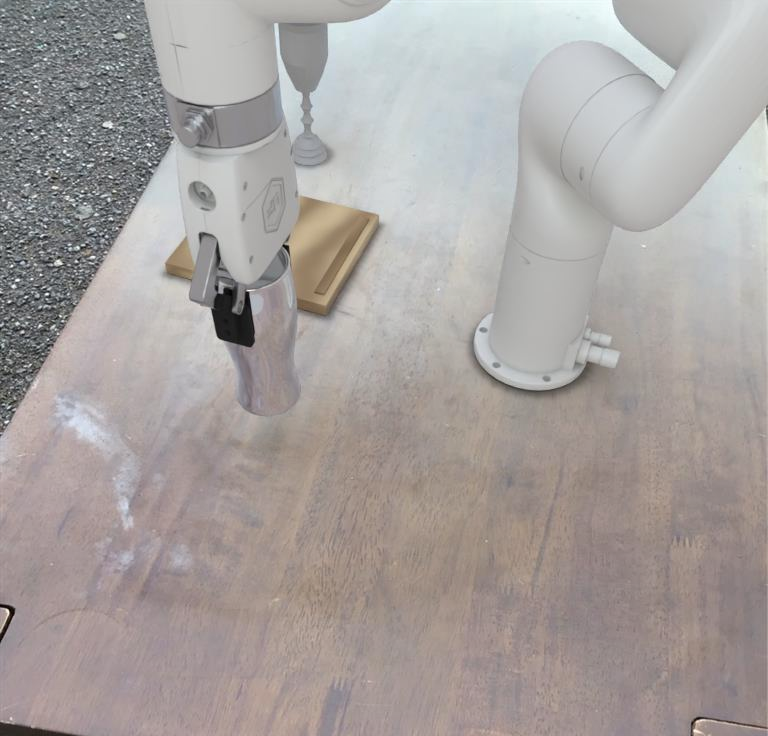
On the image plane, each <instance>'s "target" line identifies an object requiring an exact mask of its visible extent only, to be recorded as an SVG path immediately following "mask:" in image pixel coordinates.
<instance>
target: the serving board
mask: <svg viewBox="0 0 768 736" xmlns="http://www.w3.org/2000/svg"><path fill="white" fill-rule="evenodd" d="M298 195H299V194H298ZM299 206H300V212H299V217H298V219H297V222H296V224H295V226H294V227H293V229H292V231H291V234H290V239H289V241H288V243H284V244H285V245H289V249H290V259H291V269H292V274H293V279H294V284H295V290H296V297H297V309H300V310H302V311H306V312H307V311H308V312H309V313H310V312H311V313H314V314H319V315H322V316H326V317H327V315H328V313H329V311H331V308H332V306H333V305H334V304H335V301H336V300H337V298H338V297H339V294H340V292H341V291H342V290H343V287H344V286H345V284H346V283H347V281H348V279H349V277H350V276H351V274H352V272H353V270H354V268H355V267H356V265H357V264H358V262H359V260H360V258H361V256H362V255H363V254H364V251H365V250H366V248H367V246H368V245H369V243H370V241H371V239H372V238H373V236H374V234H375V233H376V230H377V229H378V227H379V226H380V214H378V213H374V212H370V211H365V210H361V209H357V208H353V207H349V206H345V205H341V204H336V203H332V202H329V201H324V200H320V199H317V198H312V197H308V196H304V195H299ZM164 264H165V269H166V274H168V275H172V276H176V277H179V278H183V279H188V280H191V281H192V278H193V274H194V269H195V265H194V262H193V260H192V256H191V253H190V249H189V245H188V241H187V236H186V235H185V237H184V238H183V239H182V241H181V242H180V243H179V245H178V246H177V247H176V249H174V250H173V252H172V253H171V255H170V256H169V257H168V258H167V260H166V261H165V262H164Z"/></svg>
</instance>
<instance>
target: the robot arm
mask: <svg viewBox="0 0 768 736" xmlns="http://www.w3.org/2000/svg"><path fill="white" fill-rule="evenodd" d="M391 1H392V0H143V4H144V8H145V9H144V10H145V13H146V18H147V23H148V28H149V32H150V37H151V41H152V46H153V50H154V55H155V60H156V64H157V70H158V74H159V78H160V84H161V89H162V94H163V98H164V103H165V108H166V111H167V116H168V117H167V118H168V121H169V126H170V130H171V134H172V136H173V138H174V139H175V141H176V142H177V143H176V145H175V152H176V169H177V181H178V190H179V198H180V205H181V214H182V218H183V226H184V231H185V237H186V236H187V241H188V245H189V249H190V253H191V256H192V260H193V262H194V265H195V269H194V274H193V278H192V280H191V282H190V287H189V291H188V298H189V299H188V300H189V301H190V302H193V303H195V304H197V305H200V307H205V308H208V309H210V311H211V316H212V321H213V326H214V330H215V335H216V337H217V338H218V340H220V341H223V342H224V341H227V342H231V343H234V344H238V345H242V346H246V347H252V346H253V344H254V343H255V337H254V331H253V324H252V318H251V312H250V306H248V305H245V304H244V300H245V288H246V285H250V284H252V283H254V282H255V281H257V280H258V279H259V278H260V277H261V276H262V274H263V273H264V272H265V270H266V269H267V267H268V266H269V264H270V263H271V261H272V260H273V258H274V257H275V255H276V254H277V252H278V251H279V249H280V248H281V246H282V247H283V248H284V249H285V250H286V251H287V253H288V255H289V257H290V249H289V245H285V244H284V243H288V241H289V239H290V234H291V231H292V229H293V227H294V226H295V224H296V222H297V219H298V217H299V212H300V206H299V188H298V180H297V171H296V165H295V162H294V158H293V152H292V147H293V145H292V140H291V136H290V135H291V134H290V131H289V125H288V122H287V119H286V115H285V111H284V108H283V104H282V103H283V102H282V93H281V82H280V81H281V80H280V72H279V61H278V51H277V50H278V49H277V40H276V29H275V24H278V23H328V24H341V23H350V22H354V21H358V20H362V19H366V18H367V17H370V16H372V15H374V14H376V13H377V12H379V11H381V10H382V9H383V8H385V7H386V6H387V5H388V4H389V3H390V2H391ZM611 3H612V9H613V12H614V16H615V17H616V19H617V21H618V22H619V24H620V25H621V26H622V27H623V28H624V30H625V31H626V32H627V33H629V34H630V35H631V36H632V38H634V39H635V40H636V41H637V42H638V43H639V44H640V45H642V46H643V47H644V48H645V49H647V50H648V51H650V52H651V53H652V54H653V55H654V56H656V57H657V58H658V59H660V60H661V61H662V62H663V63H665V64H666V65H668V66H669V68H671V69H673V70H674V71H675V73H674V74H673V76H672V78H671V79H670V81H669V83H668V85H667V86H666V87H665V88H663V87H662V86H661V85H660V84H658V83H657V81H655V79H653V78H652V77H651V76H650V75H649V74H647V73H646V72H645V71H643V70H642V69H641V68H639V67H638V66H637V65H636V64H635V63H633V62H632V61H630V60H629V58H628V57H626V56H625V55H623V54H622V53H620V52H618V51H617V50H615V49H614V48H612V47H609V46H608V45H606V44H603V43H601V42H597V41H592V40H583V39H582V40H581V39H580V40H575V41H569V42H566V43H563V44H561V45H559V46H557V47H555V48H554V49H552V50H551V51H549V52H548V53H546V55H545V56H544V57H543V58H542V59H541V60H540V61H539V62H538V64H537V65H535V68H534V69H533V70H532V72H531V73H530V76H529V78H528V80H527V81H526V84H525V86H524V90H523V92H522V96H521V100H520V106H519V110H518V120H517V121H518V122H517V157H518V158H517V159H518V160H517V176H516V177H517V178H516V187H515V193H514V194H515V195H514V199H513V204H512V205H513V206H512V209H511V210H512V211H511V216H510V222H509V226H508V230H507V231H508V232H507V237H506V243H505V248H504V253H503V258H502V262H501V263H502V265H501V269H500V273H499V280H498V285H497V290H496V296H495V300H494V307H493V310H492V312H490V313H488V314H487V315H486V316H484V318H482V319H481V321H480V322H479V323H478V325H477V326H476V329H475V332H474V337H473V342H472V344H473V353H474V355H475V359H476V360H477V361H478V363H479V364H480V366H481V367H482V368H483V369H484V370H485V371H486V372H487V373H488V374H489V375H491V376H492V377H493V378H495V380H498V381H499V382H502V383H503V384H505V385H508V386H511V387H514V388H516V389H517V388H518V389H521V390H527V391H549V390H554V389H558V388H562V387H564V386H566V385H569V384H571V383H572V382H573V381H574V380H575V381H576V380H577V378H579V377H580V376H581V374H582V373H583V372H584V370H585V367H586V366H587V364H588V362H589V363H591V364H592V363H593V364H596V365H598V366H600V367H603V368H608V369H611V370H616V367H617V365H618V362H619V359H620V356H621V351H619V350H615V349H612V348H610V346H611V343H612V340H613V335H610V334H607V333H602V332H595V331H593V330H592V327H591V328H590V327H587V325H588V322H589V318H590V314H589V313H588V311H589V308H590V305H591V301H592V298H593V295H594V293H595V288H596V285H597V282H598V280H599V279H598V278H599V276H600V272H601V268H602V266H603V262H604V259H605V256H606V253H607V250H608V246H609V243H610V240H611V237H612V234H613V231H614V228H615V226H616V227H617V228H620V229H621V230H624V231H627V232H631V233H643V232H648V231H650V230H651V231H652V230H654V229H657V228H658V227H660V226H662V225H664V224H665V223H667V222H668V221H669V220H671V219H673V218H674V217H675V216H676V215H677V214H679V212H681V211H682V210H683V209H684V208H685V207H686V206H687V205H688V203H690V201H691V200H693V198H694V197H695V196H696V195H697V194H698V192H700V190H701V189H702V188H703V186H705V184H706V183H707V182H708V180H709V179H710V178H711V177H712V175H713V174H714V173H715V172H716V171H717V169H718V168H719V167H720V166H721V164H722V163H723V162H724V160H725V159H726V158H727V156H728V155H729V154H730V153H731V152H732V151H733V149H734V148H735V147H736V145H737V144H738V143H739V141H740V140H742V137H744V135H745V134H746V133H747V132H748V131H749V129H750V128H751V126H753V125H754V123H755V122H756V120H757V119H758V118H759V116H760V115H761V114H762V113H763V111H764V110H765V109H766V108H767V107H768V0H611ZM220 260H222V262H223V263H224V265H225V266H222V265H219V264H220ZM290 265H291V259H290ZM291 270H292V269H291ZM219 277H222V278H226V279H230V280H234V281H233V289H232V296H228V295H225V294H221V293H218V292H219Z"/></svg>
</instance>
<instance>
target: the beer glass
mask: <svg viewBox="0 0 768 736" xmlns="http://www.w3.org/2000/svg"><path fill="white" fill-rule="evenodd" d="M219 265H222V266H225V265H224V263H223V262H222V260H220V264H219ZM233 281H234V280H230V279H226V278H222V277H219V292H218V293H221V294H225V295H228V296H232V289H233ZM244 304H245V305H248V306H250V312H251V318H252V324H253V331H254V337H255V343H254V344H253V346H252V347H246V346H242V345H238V344H234V343H231V342H227V341H223V343H224V345H225V348H226V350H227V352H228V355H229V356H230V359H231V361H232V364H233V366H234V370H235V376H236V380H235V396H236V400H237V402H238V404H239V405H240V407H241V408H242V409H243V410H245V411H246V412H248V413H249V414H252V415H255V416H259V417H275V416H279V415H282V414H285V413H286V412H288V411H290V410H291V409H293V408H294V407H295V406H296V405H297V403H298V402H299V400H300V399H301V395H302V385H301V381H300V379H299V377H298V374H297V371H296V368H295V362H294V361H295V360H294V359H295V347H296V340H297V332H298V331H297V330H298V315H299V314H298V313H299V312H298V311H299V310H298V308H297V297H296V290H295V284H294V279H293V274H292V270H291V265H290V257H289V255H288V253H287V251H286V250H285V249H284V248H283V247H282V246H281V248H280V249H279V251H278V252H277V254H276V255H275V257H274V258H273V260H272V261H271V263H270V264H269V266H268V267H267V269H266V270H265V272H264V273H263V274H262V276H261V277H260V278H259V279H258V280H257V281H255V282H254V283H252V284H250V285H246V288H245V300H244Z"/></svg>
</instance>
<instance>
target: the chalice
mask: <svg viewBox="0 0 768 736" xmlns="http://www.w3.org/2000/svg"><path fill="white" fill-rule="evenodd" d="M277 28H278V42H279V43H278V44H279V55H280V58H281V61H282V63H283V66H284V69H285V72H286V73H287V76H288V77H289V80H290V81H291V83H292V85H293V87H294V89H295V90H296V92H299V93H301V96H302V101H301V104H300V108H301V110H302V113H303V115H302V117H301V118H300V122H301V124H302V125H303V128H304V129H303V132H302V133H300V134H298V136H297V137H296V138H295V139H294V142H293V144H292V152H293V158H294V163H296V164H298V165H302V166H315V165H320V164H321V163H323V162H325V161H326V159H328V153H327V150H326V149H325V145H324V144H323V141H322V139H321V138H320V137H319V136H318V134H316V133H314V132H312V124H313V123H314V117H312V115H311V111H312V108H313V106H314V105H313V103H312V102H311V98H310V95H311V93H313V92H315V91H316V90H317V88H318V86H319V83H320V81H321V79H322V77H323V74H324V72H325V69H326V65H327V62H328V58H329V31H328V28H329V23H277Z"/></svg>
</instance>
